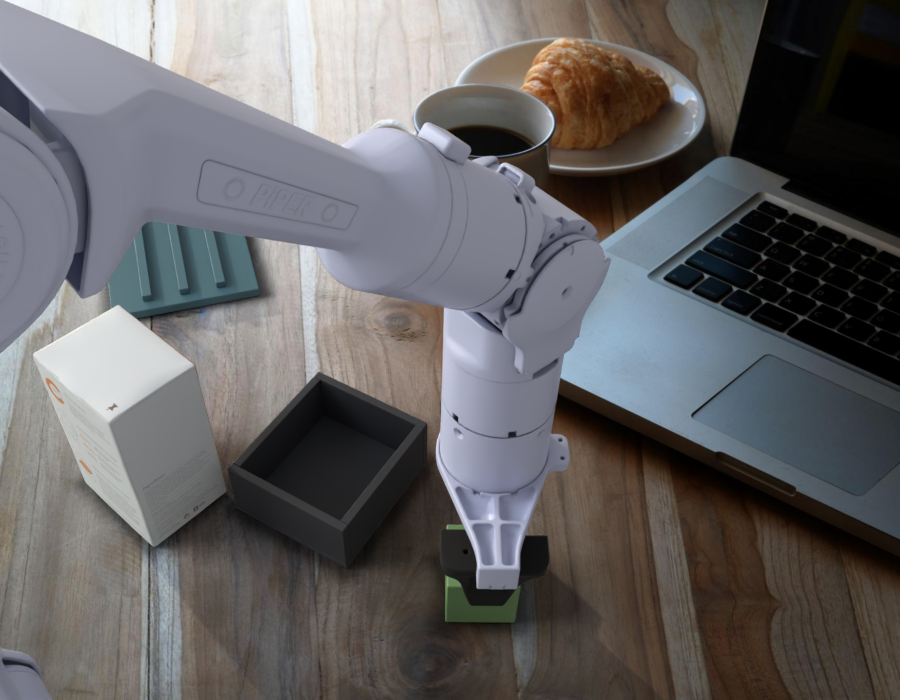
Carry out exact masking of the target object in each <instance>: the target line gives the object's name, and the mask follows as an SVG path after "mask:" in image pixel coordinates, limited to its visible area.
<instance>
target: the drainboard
mask: <svg viewBox="0 0 900 700" xmlns="http://www.w3.org/2000/svg"><path fill="white" fill-rule="evenodd" d="M246 237H247V236H243V235H237V234H230V233H224V232H218V231H212V230H205V229H199V228H193V227H187V226H180V225H174V224H168V223H162V222H153V221H152V222H147V223H145V224H144V225H143V226H142V228H141V229H140V231H139V233H138V234H137V236H136V237H135V239H134V240H133V242H132V244H131V245H130V247H129V248H128V250H127V252H126V253H125V255H124V256H123V258H122V260H121V261H120V263H119V264H118V266H117V268H116V269H115V271H114V273H113V274H112V276H111V278H110V279H109V281H108V283H107V285H108V295H109V305H110V306H109V307H110V309H111V308H113V307H115V306H117V305H120V306H121V307H122V308H124V309H125V310H126V311H128V312H129V313H130V314H131V315H133V316H134V317H135V318H136V319H141V318H146V317H153V316H157V315H163V314H169V313H173V312H179V311H184V310H189V309H195V308H199V307H205V306H211V305H215V304H221V303H226V302H227V303H228V302H233V301H236V300H243V299H248V298H253V297H258V296H260V295H261V291H260V286H259V282H258V279H257V276H256V271H255V268H254V264H253V260H252V256H251V253H250V249H249V245H248V240H247V238H246Z"/></svg>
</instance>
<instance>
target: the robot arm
mask: <svg viewBox="0 0 900 700" xmlns="http://www.w3.org/2000/svg"><path fill="white" fill-rule="evenodd" d="M471 153H472V148H471V145H469V144H468V143H466V142H464V140H461V138H459V137H457V136H455V135H454V134H453V133H451V132H450V131H448V130H447V129H445V128H443V127H441V126H438V125H436V124H434V123H432V122H429V121H427V122H425V123H424V124H422V126H421V129H420V130H419V132H418V134H417V135H414V134H412V133H410V132H407V131H405V130H402V129H398V128H395V127H387V126H386V127H375V128H371V129H370V128H369V129H368V130H364V131H362V132H360V133H358V134H356V135H354V136H353V137H351V138H349V139H348V140H347V141H345V142H344V143H343V144H341V145H340V144H337V143H336V142H332V141H331V140H328V139H326V138H323V137H322V136H319V135H318V134H314V133H312V132H311V131H308V130H305V129H303V128H301V127H299V126H297V125H295V124H293V123H290V122H288V121H286V120H283V119H281V118H278V117H276V116H274V115H272V114H271V113H267V112H265V111H263V110H261V109H258V108H256V107H254V106H251V105H249V104H247V103H245V102H242V101H240V100H238V99H236V98H233V97H231V96H229V95H227V94H225V93H222V92H220V91H218V90H215V89H214V88H211V87H209V86H206V85H204V84H202V83H199V82H198V81H195V80H193V79H190V78H188V77H186V76H184V75H182V74H179V73H178V72H175V71H172V70H170V69H168V68H166V67H163V66H161V65H160V64H156V63H154V62H152V61H149V60H148V59H146V58H143V57H140V56H138V55H136V54H134V53H131V52H129V51H127V50H126V49H123V48H120V47H119V46H116V45H113V44H112V43H109V42H107V41H105V40H103V39H100V38H98V37H95V36H93V35H91V34H88V33H86V32H84V31H80V30H78V29H75V28H73V27H71V26H68V25H67V24H63V23H61V22H59V21H56V20H54V19H51V18H50V17H49V18H48V17H46V16H44V15H42V14H39V13H36V12H34V11H31V10H29V9H27V8H24V7H22V6H20V5H17V4H15V3H12V2H10V1H7V0H0V354H2V353H3V352H4V351H5V350H6V349H7V348H9V347H10V346H11V345H12V344H13V343H14V342H15V341H16V340H17V339H19V337H20V336H22V335H23V334H24V333H25V332H26V331H27V330H28V329H29V328H30V327H31V326H32V325H33V324H34V323H35V322H36V321H37V320H38V319H39V318H40V316H42V315H43V314H44V312H45V311H46V309H47V308H48V307H49V306H50V304H51V303H52V302H53V300H54V299H55V298H56V296H57V294H58V292H59V291H60V290H61V287H62V286H63V285H64V282H65V281H66V282H67V283H68V285H69V286H70V287H71V288H72V290H74V292H75V294H77V296H78V297H79V298H80V299H82V300H84V299H87V298H91V297H93V296H95V295H97V294H99V293H100V292H102V291H103V290H104V289H105V287H106V286H107V285H108V281H109V279H110V278H111V276H112V274H113V273H114V271H115V269H116V268H117V266H118V264H119V263H120V261H121V260H122V258H123V256H124V255H125V253H126V252H127V250H128V248H129V247H130V245H131V244H132V242H133V240H134V239H135V237H136V236H137V234H138V233H139V231H140V229H141V228H142V226H143V225H144V224H145V223H147V222H152V221H153V222H162V223H168V224H174V225H180V226H187V227H193V228H199V229H205V230H212V231H218V232H224V233H230V234H237V235H243V236H245V237H250V238H256V239H262V240H267V241H268V240H269V241H274V242H275V241H276V242H279V243H280V242H282V243H286V244H287V243H288V244H293V245H300V246H306V247H311V248H314V250H315V252H316V255H317V258H318V259H319V261H320V263H321V265H322V266H323V268H324V269H325V270H326V272H327V273H328V274H329V276H331V278H333V280H335V281H336V282H337V283H339V284H340V285H342V286H344V287H347V288H348V289H351V290H353V291H354V290H355V291H358V292H361V293H367V294H373V295H378V296H383V297H388V298H394V299H398V300H404V301H408V302H413V303H419V304H424V305H428V306H434V307H439V308H443V324H442V326H443V327H442V328H443V330H442V366H441V368H442V369H441V370H442V371H441V391H440V392H441V393H440V400H439V401H440V402H439V423H440V430H439V434H438V435H437V439H436V445H435V460H436V465H437V469H438V471H439V473H440V476H441V478H442V480H443V483H444V485H445V487H446V490H447V492H448V494H449V496H450V499H451V500H452V503H453V505H454V508H455V510H456V512H457V514H458V517H459V519H460V521H461V524H462V525H463V526H464V528H465V529H447V528H441V529H439V563H440V567H441V569H442V572H443V573H444V576H445V575H446V576H448V577H451V578H453V579H455V580H457V581H459V582H460V584H461V586H462V589H463V592H464V594H465V597H466V599H467V601H468V603H469V604H470V605H471V606H503V605H504V604H505V603H506V602H507V601H508V600H509V598H510V597H511V596H512V594H513V593H514V591H515V590H516V589H517V588H518V587H519V586H520V585H521V586H522V585H523V584H524V583H526V582H527V583H528V582H529V581H532V580H534V579H535V580H536V579H539V578H540V579H541V578H543V577H544V576H545V575H546V574H547V571H548V570H549V569H548V568H549V565H550V549H549V548H550V547H549V536H548V535H546V534H545V535H540V534H539V535H537V534H536V535H535V534H533V535H532V534H531V535H530V534H527V533H528V530H529V527H530V525H531V521H532V518H533V515H534V512H535V511H536V507H537V505H538V502H539V499H540V495H541V493H542V490H543V487H544V484H545V482H546V479H547V477H548V475H550V474H551V473H557V472H558V473H561V472H566V470H568V469H569V464H570V461H571V457H570V447H569V440H568V439H567V437H566V436H565V435H563V434H561V433H552V431H553V424H554V417H555V412H556V407H557V406H556V405H557V401H558V396H559V395H558V393H559V389H560V383H561V376H562V370H563V365H564V359H565V358H564V357H565V354H567V353H568V352H569V351H571V350H572V348H573V347H574V345H575V341H576V340H577V339H578V338H579V337H580V335H581V334H580V333H581V328H582V323H583V320H584V317H585V315H586V312H587V311H588V309H589V307H590V306H591V304H592V302H593V301H594V300H595V298H596V296H597V295H598V293H599V292H600V290H601V288H602V286H603V284H604V281H605V279H606V277H607V275H608V272H609V269H610V265H611V262H612V258H610V257H607V258H606V255H605V252H604V249H603V247H602V245H601V244H600V239H599V238H598V237H597V236H596V235H597V234H598V231H597V229H596V227H595V226H594V225H593V224H592V223H591V222H590V221H588V220H587V219H585V218H584V217H583V216H581V215H580V214H578V213H576V212H575V211H573V210H572V209H571V208H569V207H568V206H566V205H565V204H564V203H562V202H560V201H559V200H557V199H556V198H554V197H553V196H551V195H550V194H548V193H547V192H545V191H544V190H543V189H541V188H539V186H536V181H535V178H534V177H532V175H530V174H528V173H527V172H525V171H523V170H522V169H521V168H520V167H517V166H515V165H513V164H511V163H509V162H502V163H501V164H500V162H499V158H498V157H496V156H495V155H486V156H482V157H478V158H474V159H469V156H470V154H471ZM0 700H54V699H53V697H52V696H51V694H50V692H49V690H48V688H47V686H46V685H45V683H44V681H43V672H42V670H41V668H40V666H39V664H38V662H37V661H36V660H35V658H33V657H32V656H30V655H29V654H28V653H25V652H23V651H20V650H19V651H18V650H12V649H6V648H3V647H0Z"/></svg>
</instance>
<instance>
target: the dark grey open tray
mask: <svg viewBox="0 0 900 700" xmlns="http://www.w3.org/2000/svg"><path fill="white" fill-rule="evenodd" d="M428 425H429V424H428V422H427V421H424V420H422V419H420V418H418V417H416V416H413V415H412V414H410V413H408V412H406V411H404V410H403V411H402V410H401V409H399V408H397V407H395V406H392V405H390V404H388V403H386V402H384V401H382V400H379V399H378V398H376V397H374V396H372V395H369V394H367V393H365V392H363V391H361V390H359V389H357V388H355V387H353V386H350V385H349V384H345V383H344V382H342V381H340V380H337V379H335V378H333V377H331V376H330V375H327V374H325V373H323V372H320V371H318V372H316V374H314V376H313V377H312V378H311V379H310V380H309V381H308V382H307V383H306V384H305V385H304V386H303V387H302V389H301V390H300V391H299V392H298V393H296V395H295V396H294V397H293V398H292V399H291V400H290V401H289V402H288V403H287V404H286V405H285V407H284V408H282V410H281V411H280V412H279V413H278V414H277V415H276V416H275V417H274V418H273V419H272V421H271V422H269V424H268V425H267V426H266V427H265V428H264V429H263V430H262V431H261V432H260V434H258V436H256V437H255V438H254V439H253V441H252V442H251V443H250V444H249V445H248V446H247V447H246V448H245V449H244V450H243V451H242V452H241V453H240V454H239V456H238V457H237V458H236V459H235V460H234V461H233V462H232V463H231V464H230V466H228V467H227V469H226V472H227V475H228V479H229V484H230V487H231V492H232V495H233V500H234V505H235V508H236V509H237V510H239V511H241V512H242V513H244V514H246V515H248V516H250V517H251V518H253V519H255V520H256V521H259V522H261V523H262V524H264V525H266V526H267V527H269V528H271V529H273V530H275V531H277V532H278V533H280V534H282V535H284V536H286V537H287V538H289V539H291V540H293V541H295V542H297V543H298V544H300V545H302V546H304V547H306V548H307V549H308V550H311V551H313V552H314V553H317V554H318V555H320V556H323V557H324V558H325V559H328V560H329V561H331V562H333V563H334V564H336V565H338V566H339V567H342V568H344V569H346V570H347V569H348V568H349V567H350V566H351V564H352V563H353V562H354V561H355V559H356V557H358V555H359V553H360V552H362V550H363V548H365V545H366V544H367V543H368V542H369V541H370V540H371V538H372V537H373V535H374V534H375V532H376V531H377V530H378V529H379V527H380V526H381V525H382V523H383V521H384V520H385V519H386V518H387V516H388V515H389V514H390V513H391V511H392V510H393V509H394V507H395V506H396V505H397V503H398V502H399V500H400V499H401V498H402V497H403V495H404V494H405V493H406V492H407V490H408V489H409V487H410V486H411V485H412V483H413V482H414V480H416V478H417V476H418V475H419V474H420V472H421V471H422V470H424V469H423V468H424V467H425V466H426V465H427V463H428Z"/></svg>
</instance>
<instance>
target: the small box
mask: <svg viewBox="0 0 900 700" xmlns="http://www.w3.org/2000/svg"><path fill="white" fill-rule="evenodd" d="M32 357H33V360H34V363H35V365H36V367H37V370H38V372H39V374H40V377H41V379H42V382H43V384H44V386H45V389H46V391H47V393H48V395H49V398H50V400H51V403H52V405H53V408H54V410H55V412H56V415H57V417H58V420H59V422H60V424H61V427H62V429H63V432H64V434H65V436H66V438H67V441H68V443H69V445H70V448H71V450H72V453H73V455H74V459H75V460H76V462H77V465H78V468H79V470H80V472H81V475H82V477H83V479H84V482H85V484H86V485H87V486H88V487H89V488H90V489H91V490H92V491H93V492H95V493H96V495H97V496H98V497H100V498H101V499H102V500H103V501H104V502H105V503H106V504H107V505H108V506H109V507H110V508H111V509H112V510H113V511H114V512H115V513H116V514H117V515H118V516H119V517H121V518H122V519H123V520H124V521H125V522H126V523H127V524H128V525H129V526H130V527H131V528H132V529H133V530H134V531H135V532H136V533H137V534H138V535H140V536H141V538H143V539H144V540H145V541H146V542H147V543H148V544H149V545H150V546H152V547H154V548H156V547H157V546H159V545H160V544H161V543H162V542H164V541H165V540H166V539H167V538H169V537H170V536H172V535H173V534H174V533H175V532H177V531H178V530H179V529H181V528H183V526H184V525H186V524H187V523H189V522H190V521H191V520H192V519H193V518H195V517H196V516H197V515H199V514H200V513H201V512H202V511H204V510H205V509H206V508H207V507H209V506H210V505H211V504H212V503H214V502H215V501H216V500H218V499H219V498H221V496H223V495H224V494H225V493H226V492H228V491H227V490H228V489H227V485H226V481H225V477H224V473H223V469H222V465H221V462H220V458H219V454H218V450H217V446H216V442H215V438H214V434H213V430H212V426H211V425H212V424H211V422H210V417H209V415H208V414H209V413H208V410H207V406H206V402H205V399H204V395H203V390H202V387H201V383H200V379H199V374H198V370H197V367H196V364H195V363H194V361H192V360H190V359H189V358H188V357H186V356H185V355H184V354H183V353H181V352H180V351H179V350H177V349H176V348H175V347H174V346H173V345H171V344H170V343H168V342H167V341H166V340H164V339H163V338H162V337H160V336H159V335H158V334H157V333H156V332H155V331H153V330H152V329H151V328H149V327H148V326H147V325H146V324H144V323H143V322H142V321H140V319H139V318H137V319H136V318H135V317H134V316H133V315H131V314H130V313H129V312H128V311H126V310H125V309H124V308H122V307H121V306H120V305H117V306H115V307H113V308H111V307H110V309H108V310H106V311H105V312H103V313H101V314H98V316H96V317H94V318H92V319H91V320H89V321H87V322H85V323H84V324H82V325H80V326H79V327H77V328H75V329H74V330H72V331H70V332H69V333H67V334H65V335H63V336H61V337H60V338H58V339H56V340H54V341H53V342H51V343H49V344H48V345H46V346H44V347H42V348H41V349H38V350H37V351H35V352H33V354H32Z"/></svg>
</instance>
